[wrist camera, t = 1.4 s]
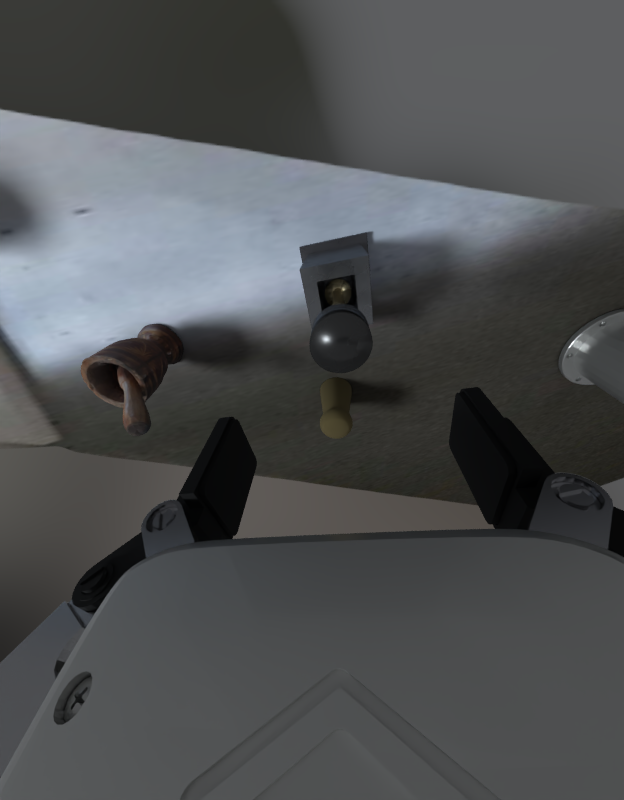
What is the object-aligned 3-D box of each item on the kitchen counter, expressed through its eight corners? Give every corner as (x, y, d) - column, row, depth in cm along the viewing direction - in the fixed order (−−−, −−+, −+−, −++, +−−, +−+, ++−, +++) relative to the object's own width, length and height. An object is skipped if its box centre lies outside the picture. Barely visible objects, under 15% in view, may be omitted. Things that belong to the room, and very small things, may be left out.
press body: (366, 232, 35) (378, 241, 25) (371, 314, 41) (383, 347, 32) (300, 246, 37) (288, 260, 27) (314, 324, 43) (309, 358, 33)
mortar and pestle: (197, 320, 44) (118, 386, 28) (210, 366, 49) (149, 445, 33) (130, 320, 45) (15, 383, 28) (149, 365, 50) (61, 441, 33)
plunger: (355, 267, 29) (370, 309, 17) (358, 308, 31) (374, 368, 20) (315, 275, 30) (303, 320, 18) (322, 314, 32) (315, 376, 20)
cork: (354, 378, 48) (358, 417, 39) (349, 405, 52) (352, 445, 43) (321, 376, 49) (318, 413, 40) (318, 402, 52) (315, 442, 43)
